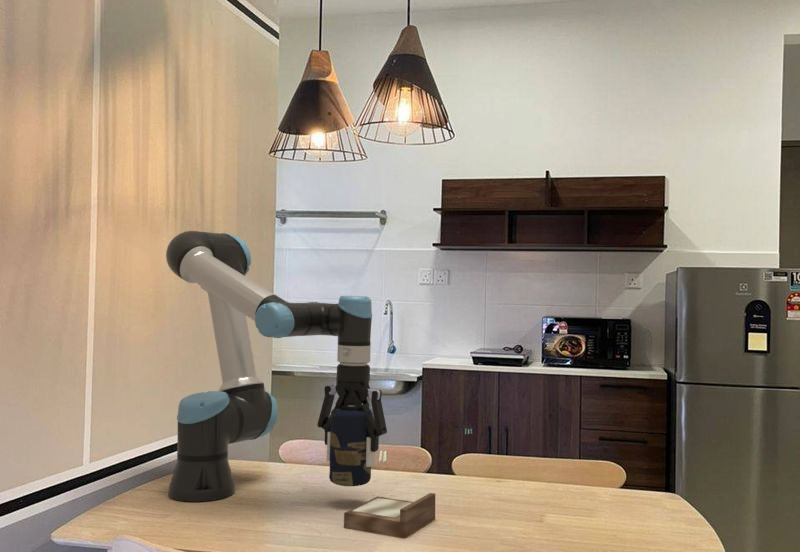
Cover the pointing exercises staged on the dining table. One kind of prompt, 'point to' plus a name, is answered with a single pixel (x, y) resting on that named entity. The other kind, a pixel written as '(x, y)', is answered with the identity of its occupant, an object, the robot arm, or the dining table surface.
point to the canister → (348, 447)
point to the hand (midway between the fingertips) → (350, 462)
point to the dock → (391, 516)
